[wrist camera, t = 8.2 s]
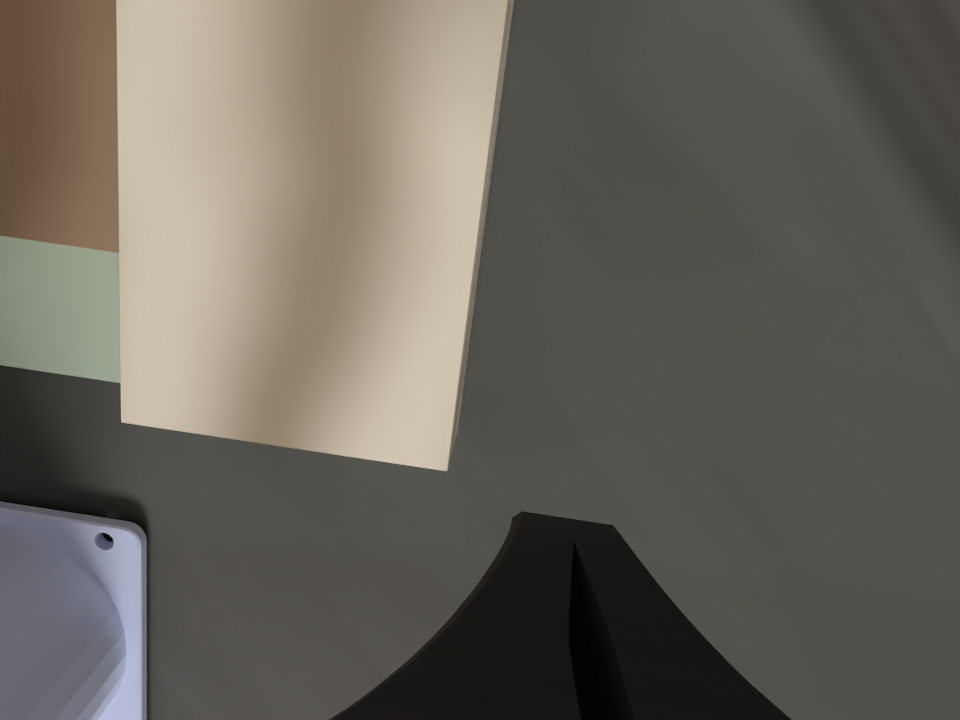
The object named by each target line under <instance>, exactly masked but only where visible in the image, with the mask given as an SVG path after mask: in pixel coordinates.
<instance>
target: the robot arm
mask: <svg viewBox="0 0 960 720" xmlns="http://www.w3.org/2000/svg"><path fill="white" fill-rule="evenodd" d="M102 533H106V534H109V535H110V536H111V537H112V538H113V542H110V541H107V540H106V539H105V538H104V537H103V534H102ZM0 720H147V540H146V535H145V533H144V531H143V530H142V528H141V527H139V526H138V525H137V524H135V523H132V522H129V521H123V520H116V519H110V518H103V517H97V516H91V515H84V514H78V513H71V512H65V511H58V510H52V509H45V508H39V507H32V506H26V505H19V504H13V503H6V502H0ZM329 720H791V719H790V718H789V717H787V716H786V715H785V714H784V713H783V712H782V711H781V710H780V709H778V708H777V707H776V706H775V705H774V704H773V703H772V702H770V701H769V700H768V699H767V698H766V697H765V696H764V695H763V694H761V693H760V692H759V691H758V690H757V689H756V688H755V687H753V686H752V685H751V684H750V683H749V682H748V681H747V680H746V679H745V678H744V677H743V676H742V675H741V674H740V673H739V672H738V671H737V670H735V669H734V668H733V667H732V666H731V665H730V664H729V663H728V662H727V660H726V659H725V658H724V657H723V656H722V655H721V654H720V653H719V652H718V651H717V650H716V649H715V648H714V647H713V646H712V645H711V644H710V643H709V642H708V641H707V640H706V639H705V637H704V636H703V635H702V634H701V633H700V632H699V631H698V630H697V629H696V628H695V627H694V626H693V624H692V623H691V622H690V621H689V620H688V619H687V618H686V617H685V615H684V614H683V613H682V612H681V611H680V610H679V608H678V607H677V606H676V605H675V604H674V603H673V601H672V600H671V599H670V598H669V597H668V595H667V594H666V593H665V592H664V591H663V589H662V588H661V587H660V586H659V584H658V583H657V582H656V581H655V579H654V578H653V577H652V576H651V574H650V573H649V572H648V570H647V569H646V568H645V567H644V565H643V564H642V563H641V561H640V560H639V559H638V558H637V556H636V555H635V554H634V552H633V551H632V550H631V548H630V547H629V546H628V544H627V543H626V542H625V540H624V539H623V538H622V536H621V535H620V534H619V532H618V531H617V530H616V529H615V527H614V526H613V525H608V524H601V523H595V522H588V521H581V520H575V519H568V518H562V517H555V516H548V515H542V514H535V513H529V512H520V513H519V514H517V515H516V516H514V517H513V518H512V522H511V527H510V530H509V533H508V535H507V538H506V540H505V542H504V544H503V545H502V547H501V549H500V551H499V553H498V555H497V556H496V558H495V559H494V561H493V562H492V564H491V565H490V567H489V568H488V570H487V571H486V573H485V574H484V576H483V577H482V579H481V580H480V582H479V583H478V585H477V586H476V587H475V589H474V590H473V591H472V592H471V594H470V595H469V596H468V597H467V599H466V600H465V601H464V602H463V603H462V605H461V606H460V607H459V608H458V609H457V611H456V612H455V613H454V614H453V615H452V617H451V618H450V619H449V620H448V621H447V622H446V624H445V625H444V626H443V627H442V628H441V629H440V630H439V631H438V632H437V633H436V634H435V635H434V636H433V637H432V638H431V639H430V640H429V641H428V642H427V643H426V644H425V645H424V646H423V647H422V648H421V649H420V650H419V651H418V652H417V653H416V654H415V655H413V656H412V657H411V658H410V659H409V660H408V661H407V662H406V663H405V664H403V665H402V666H401V667H400V668H399V669H397V670H396V671H395V672H394V673H393V674H391V675H390V676H389V677H388V678H386V679H385V680H384V681H383V682H382V683H380V684H379V685H378V686H377V687H375V688H374V689H373V690H372V691H370V692H369V693H368V694H366V695H365V696H364V697H362V698H361V699H360V700H358V701H357V702H355V703H354V704H353V705H351V706H350V707H348V708H347V709H345V710H344V711H342V712H340V713H339V714H337V715H336V716H334V717H333V718H331V719H329Z"/></svg>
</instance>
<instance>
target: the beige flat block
mask: <svg viewBox="0 0 960 720" xmlns="http://www.w3.org/2000/svg"><path fill="white" fill-rule="evenodd" d="M513 5H514V0H116V23H117V107H118V192H119V277H120V362H121V422H123V423H130V424H136V425H143V426H150V427H156V428H163V429H170V430H176V431H183V432H189V433H196V434H203V435H209V436H216V437H223V438H229V439H236V440H243V441H249V442H256V443H263V444H269V445H276V446H282V447H289V448H296V449H302V450H309V451H316V452H322V453H329V454H336V455H342V456H349V457H356V458H362V459H369V460H375V461H382V462H389V463H395V464H402V465H409V466H415V467H422V468H429V469H435V470H442V471H447V469H448V465H449V461H450V457H451V454H452V450H453V446H454V442H455V438H456V434H457V430H458V424H459V417H460V409H461V401H462V394H463V386H464V378H465V371H466V363H467V356H468V348H469V340H470V333H471V325H472V317H473V310H474V302H475V295H476V287H477V279H478V272H479V264H480V257H481V249H482V241H483V234H484V226H485V218H486V211H487V203H488V196H489V188H490V180H491V173H492V165H493V157H494V150H495V142H496V135H497V127H498V119H499V112H500V104H501V97H502V89H503V81H504V74H505V66H506V58H507V51H508V43H509V36H510V28H511V20H512V13H513Z"/></svg>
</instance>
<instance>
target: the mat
mask: <svg viewBox="0 0 960 720" xmlns="http://www.w3.org/2000/svg"><path fill="white" fill-rule="evenodd" d="M0 365H3V366H10V367H16V368H23V369H30V370H36V371H43V372H50V373H56V374H63V375H70V376H77V377H83V378H90V379H97V380H103V381H110V382H117V383H121V362H120V277H119V253H116V252H109V251H102V250H95V249H88V248H82V247H75V246H68V245H61V244H54V243H47V242H40V241H34V240H27V239H20V238H13V237H6V236H0Z"/></svg>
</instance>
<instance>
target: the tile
mask: <svg viewBox="0 0 960 720" xmlns="http://www.w3.org/2000/svg"><path fill="white" fill-rule="evenodd" d="M0 236H6V237H13V238H20V239H27V240H34V241H40V242H47V243H54V244H61V245H68V246H75V247H82V248H88V249H95V250H102V251H109V252H116V253H119V192H118V107H117V23H116V0H0Z"/></svg>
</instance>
